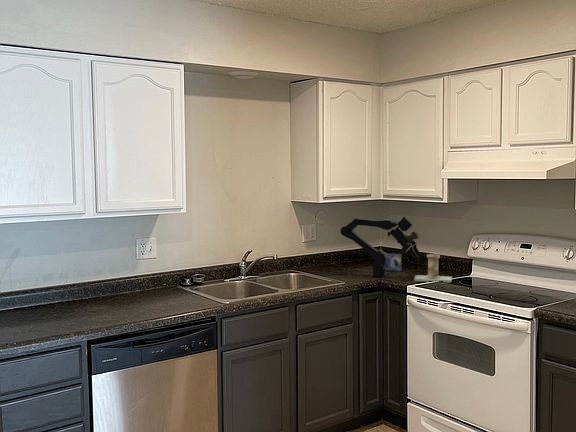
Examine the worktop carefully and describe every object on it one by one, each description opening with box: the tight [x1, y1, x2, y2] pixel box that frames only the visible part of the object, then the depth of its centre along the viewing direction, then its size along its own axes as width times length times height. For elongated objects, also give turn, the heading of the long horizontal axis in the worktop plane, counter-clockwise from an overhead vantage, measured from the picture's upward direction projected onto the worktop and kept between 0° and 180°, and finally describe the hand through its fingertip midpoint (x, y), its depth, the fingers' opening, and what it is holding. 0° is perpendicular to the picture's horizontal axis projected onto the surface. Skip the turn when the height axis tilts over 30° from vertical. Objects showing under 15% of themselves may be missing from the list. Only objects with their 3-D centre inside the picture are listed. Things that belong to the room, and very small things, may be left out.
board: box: [414, 274, 453, 283], centre depth 338 cm, size 20×12×1 cm, turn 74°
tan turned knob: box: [425, 253, 441, 279], centre depth 337 cm, size 7×7×13 cm
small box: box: [383, 252, 403, 273], centre depth 368 cm, size 11×6×10 cm, turn 76°
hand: (419, 257), depth 340 cm, fingers open, 9 cm apart
